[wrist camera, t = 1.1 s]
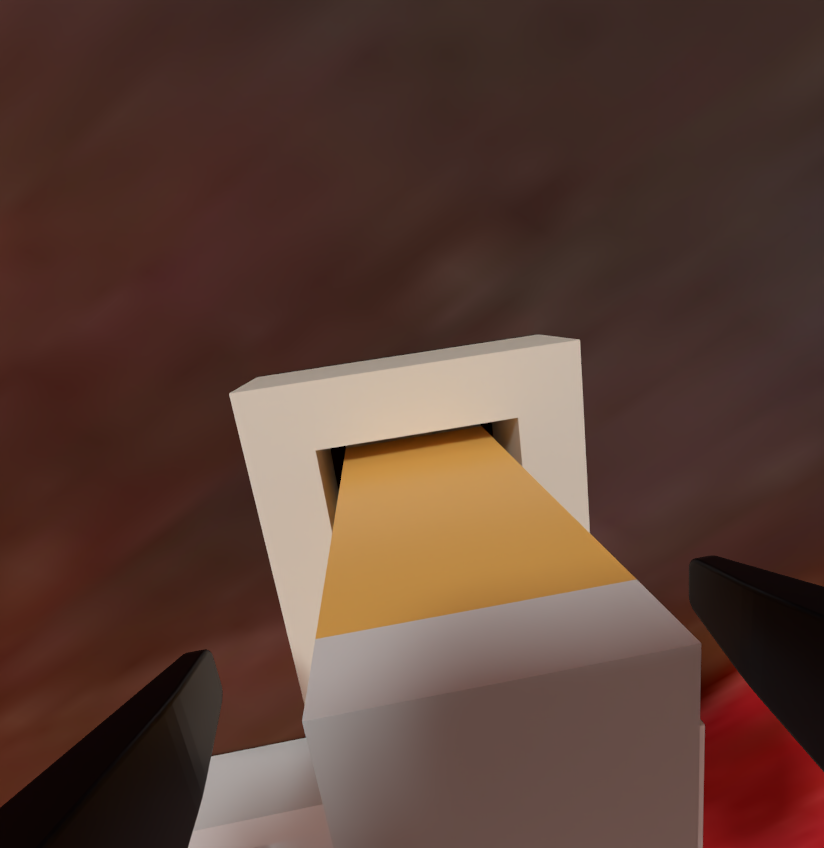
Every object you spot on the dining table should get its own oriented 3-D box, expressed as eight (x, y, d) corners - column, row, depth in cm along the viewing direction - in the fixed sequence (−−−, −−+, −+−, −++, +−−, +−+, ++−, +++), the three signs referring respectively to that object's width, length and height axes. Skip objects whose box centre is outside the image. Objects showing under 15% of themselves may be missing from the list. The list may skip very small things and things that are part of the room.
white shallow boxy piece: (537, 334, 12) (579, 339, 10) (558, 621, 15) (597, 683, 12) (257, 377, 12) (229, 393, 9) (322, 666, 14) (313, 739, 12)
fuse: (473, 417, 13) (701, 644, 4) (490, 576, 14) (695, 1011, 5) (347, 437, 13) (301, 720, 4) (376, 597, 14) (392, 1086, 5)
